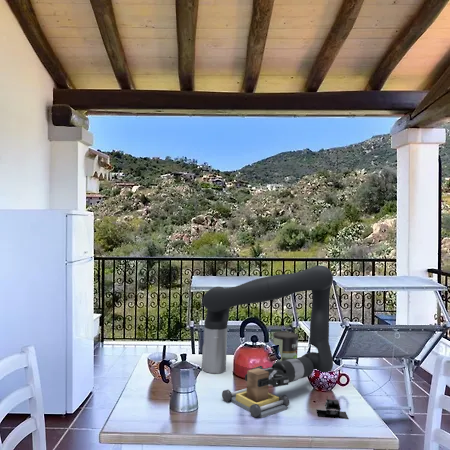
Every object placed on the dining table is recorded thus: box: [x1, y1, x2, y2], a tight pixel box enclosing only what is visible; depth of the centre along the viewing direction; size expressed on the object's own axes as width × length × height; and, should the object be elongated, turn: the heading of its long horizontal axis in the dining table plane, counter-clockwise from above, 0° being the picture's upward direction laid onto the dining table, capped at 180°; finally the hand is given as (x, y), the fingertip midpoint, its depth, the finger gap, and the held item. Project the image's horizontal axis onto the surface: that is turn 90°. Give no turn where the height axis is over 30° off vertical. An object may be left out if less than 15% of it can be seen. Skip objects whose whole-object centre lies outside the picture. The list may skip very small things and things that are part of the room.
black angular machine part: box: [315, 399, 349, 420], centre depth 138 cm, size 12×7×5 cm, turn 84°
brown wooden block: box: [246, 367, 270, 403], centre depth 143 cm, size 5×5×10 cm
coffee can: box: [272, 330, 299, 362], centre depth 181 cm, size 10×10×14 cm
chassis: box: [221, 387, 290, 419], centre depth 144 cm, size 18×14×4 cm
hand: (252, 380), depth 142 cm, fingers open, 5 cm apart
